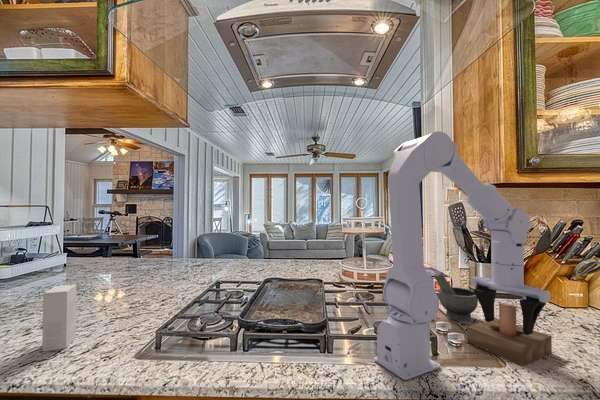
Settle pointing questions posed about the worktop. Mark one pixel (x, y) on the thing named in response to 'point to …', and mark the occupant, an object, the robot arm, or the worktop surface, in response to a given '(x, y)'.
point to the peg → (507, 319)
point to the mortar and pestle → (456, 299)
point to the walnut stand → (510, 342)
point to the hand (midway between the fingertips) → (507, 326)
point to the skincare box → (59, 317)
